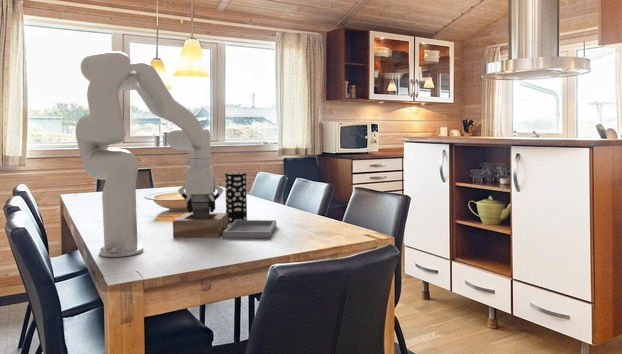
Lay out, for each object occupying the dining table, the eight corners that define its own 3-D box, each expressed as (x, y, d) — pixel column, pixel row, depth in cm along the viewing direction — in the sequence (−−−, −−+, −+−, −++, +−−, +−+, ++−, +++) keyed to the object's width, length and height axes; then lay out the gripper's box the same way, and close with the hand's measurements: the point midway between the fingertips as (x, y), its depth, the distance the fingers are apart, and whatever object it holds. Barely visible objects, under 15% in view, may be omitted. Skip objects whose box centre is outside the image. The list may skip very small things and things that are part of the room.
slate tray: (269, 239, 170) (269, 231, 170) (223, 238, 171) (223, 231, 170) (276, 226, 192) (276, 220, 192) (235, 226, 193) (235, 220, 192)
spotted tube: (221, 223, 199) (220, 173, 197) (234, 220, 206) (233, 172, 204) (238, 225, 195) (237, 174, 193) (251, 221, 202) (250, 173, 200)
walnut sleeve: (218, 237, 173) (218, 220, 172) (173, 237, 173) (172, 220, 173) (228, 228, 189) (227, 212, 188) (186, 228, 189) (185, 212, 189)
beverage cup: (207, 235, 177) (205, 179, 175) (188, 234, 178) (186, 179, 176) (215, 231, 184) (213, 177, 182) (196, 230, 185) (195, 177, 183)
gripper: (172, 163, 175) (174, 213, 177) (221, 163, 175) (222, 213, 176) (179, 162, 183) (180, 210, 184) (226, 162, 182) (227, 210, 184)
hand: (201, 211), depth 180 cm, fingers closed on beverage cup, 7 cm apart
